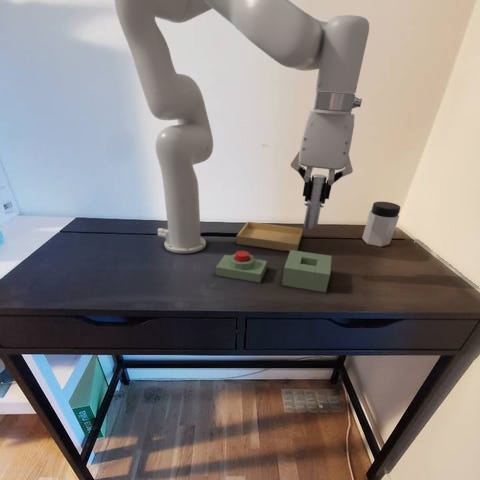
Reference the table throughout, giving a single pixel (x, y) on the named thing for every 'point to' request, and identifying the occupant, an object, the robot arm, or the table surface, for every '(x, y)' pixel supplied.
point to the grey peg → (314, 201)
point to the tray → (270, 236)
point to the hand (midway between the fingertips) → (315, 200)
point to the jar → (381, 223)
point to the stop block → (241, 268)
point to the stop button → (242, 256)
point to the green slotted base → (307, 271)
